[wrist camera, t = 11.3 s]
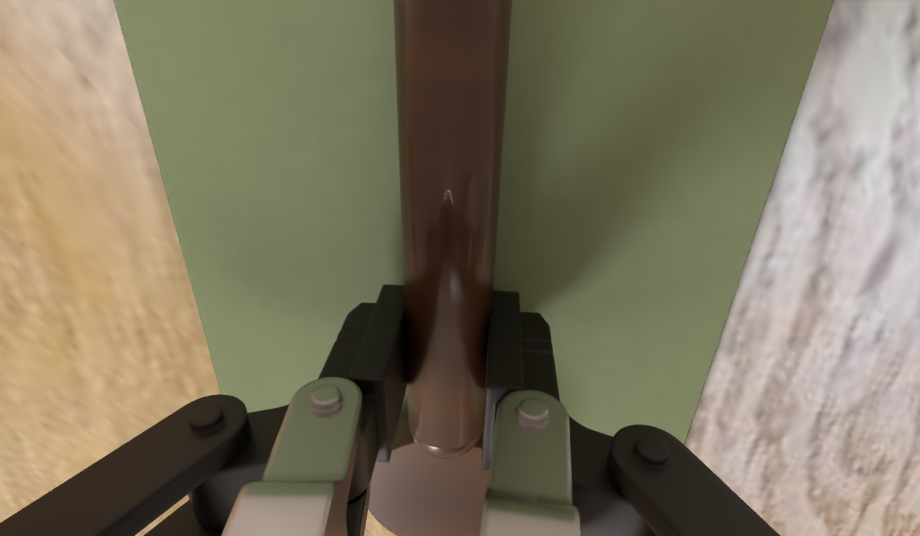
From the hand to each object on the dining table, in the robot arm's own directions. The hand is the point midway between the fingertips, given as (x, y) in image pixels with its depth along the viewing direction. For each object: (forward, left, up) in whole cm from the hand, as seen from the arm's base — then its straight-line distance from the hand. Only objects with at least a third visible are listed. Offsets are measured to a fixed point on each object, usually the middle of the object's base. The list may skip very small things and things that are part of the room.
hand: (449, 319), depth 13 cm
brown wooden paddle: (-1, -1, 0) cm, 1 cm away
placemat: (-1, -1, -1) cm, 1 cm away
